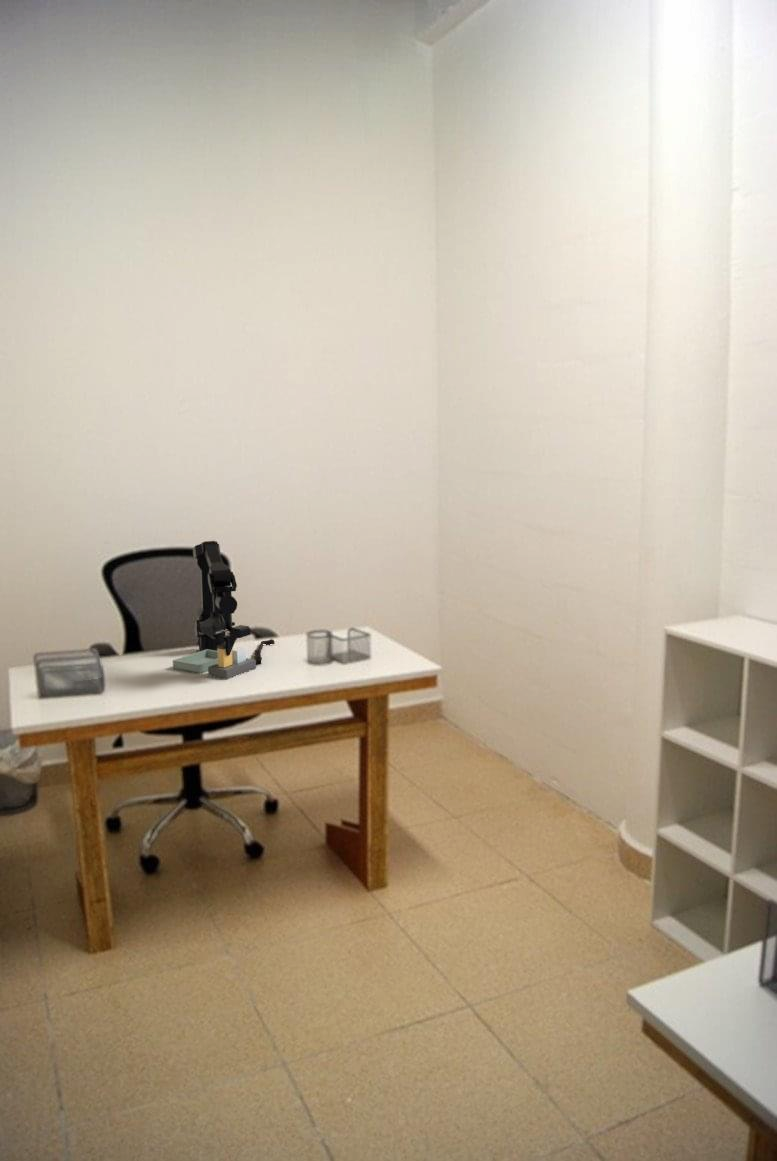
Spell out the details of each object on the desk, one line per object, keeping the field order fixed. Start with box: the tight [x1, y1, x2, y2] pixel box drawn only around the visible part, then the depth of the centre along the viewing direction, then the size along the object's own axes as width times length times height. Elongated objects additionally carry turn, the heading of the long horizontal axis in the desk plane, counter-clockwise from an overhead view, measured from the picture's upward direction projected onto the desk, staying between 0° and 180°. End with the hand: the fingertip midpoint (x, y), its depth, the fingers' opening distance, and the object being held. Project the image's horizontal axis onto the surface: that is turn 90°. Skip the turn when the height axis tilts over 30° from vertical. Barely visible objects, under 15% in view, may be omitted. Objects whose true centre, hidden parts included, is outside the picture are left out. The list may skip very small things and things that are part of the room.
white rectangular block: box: [232, 647, 247, 663], centre depth 293 cm, size 2×4×7 cm, turn 147°
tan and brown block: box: [217, 643, 233, 667], centre depth 287 cm, size 2×4×7 cm, turn 147°
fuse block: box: [207, 657, 257, 680], centre depth 290 cm, size 8×14×3 cm, turn 147°
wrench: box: [254, 638, 275, 665], centre depth 311 cm, size 5×5×30 cm
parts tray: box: [172, 649, 218, 674], centre depth 299 cm, size 12×16×3 cm
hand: (224, 654), depth 287 cm, fingers closed on tan and brown block, 2 cm apart
